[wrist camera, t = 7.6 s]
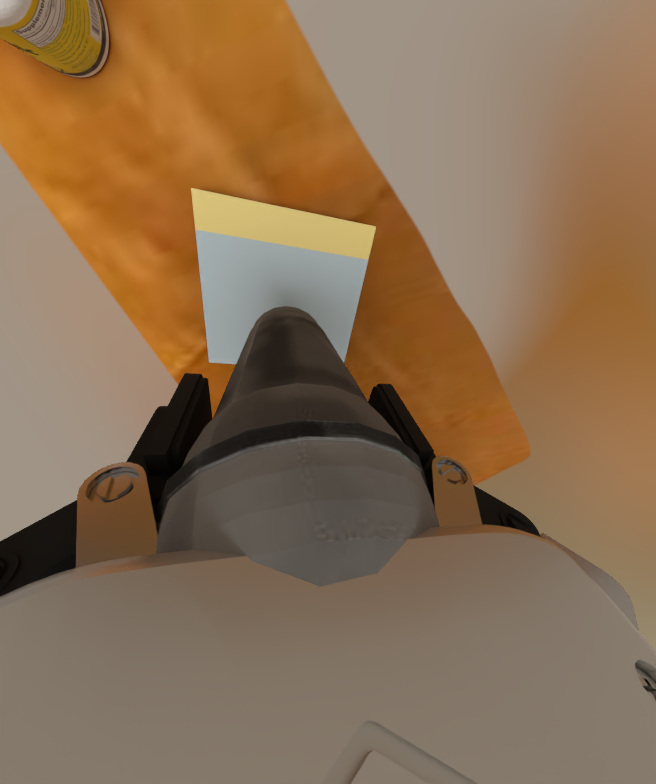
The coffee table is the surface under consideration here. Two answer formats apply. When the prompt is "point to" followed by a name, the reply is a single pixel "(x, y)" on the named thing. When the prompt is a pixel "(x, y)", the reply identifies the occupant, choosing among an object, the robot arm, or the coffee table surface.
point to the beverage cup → (296, 466)
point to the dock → (275, 268)
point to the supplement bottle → (58, 33)
